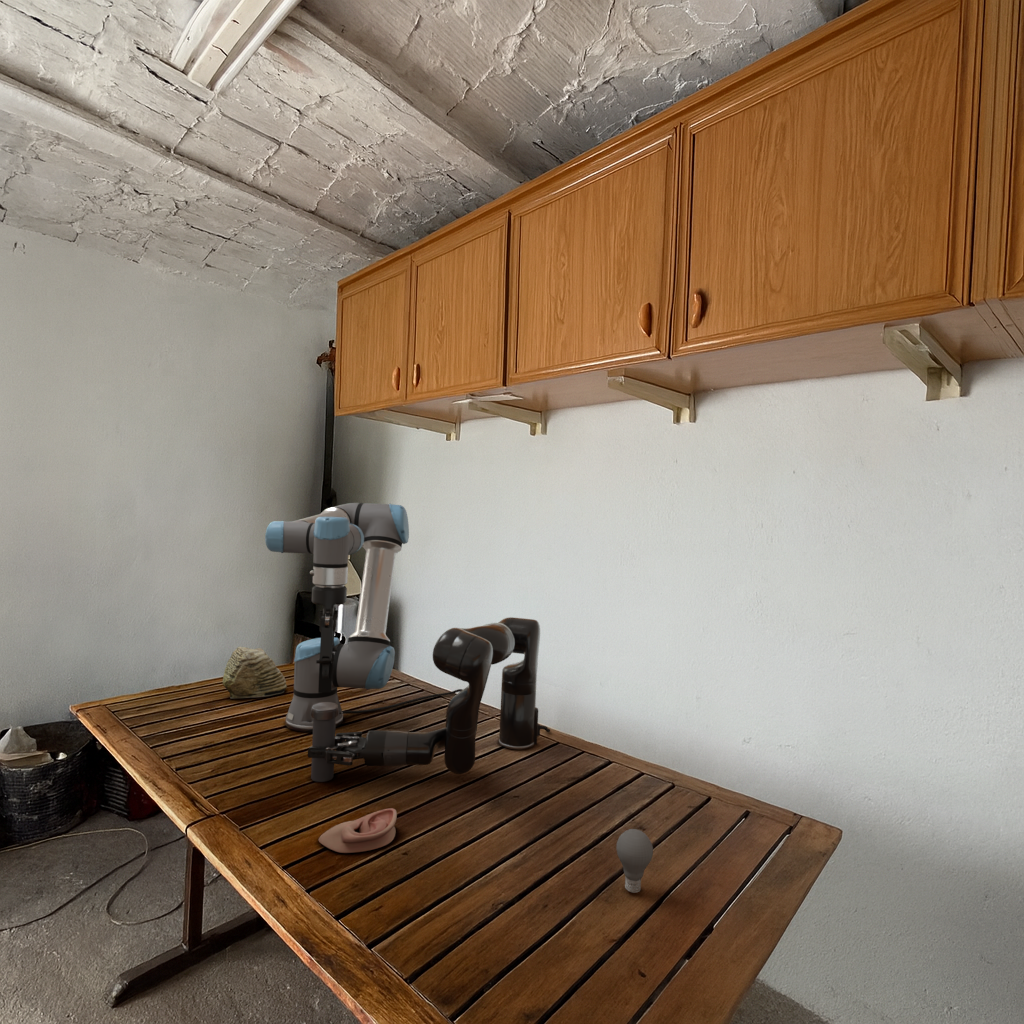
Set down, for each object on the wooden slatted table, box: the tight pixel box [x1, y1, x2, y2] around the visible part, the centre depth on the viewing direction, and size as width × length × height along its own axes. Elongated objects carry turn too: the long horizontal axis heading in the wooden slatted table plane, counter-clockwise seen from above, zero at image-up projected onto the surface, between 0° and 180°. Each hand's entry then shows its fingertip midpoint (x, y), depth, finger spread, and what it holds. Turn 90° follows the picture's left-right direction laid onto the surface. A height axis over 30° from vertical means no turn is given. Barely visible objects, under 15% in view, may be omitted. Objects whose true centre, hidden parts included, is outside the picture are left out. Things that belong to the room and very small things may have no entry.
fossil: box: [222, 646, 288, 699], centre depth 198 cm, size 9×18×15 cm, turn 132°
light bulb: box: [615, 828, 654, 894], centre depth 106 cm, size 6×6×10 cm
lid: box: [311, 702, 338, 720], centre depth 143 cm, size 6×6×2 cm
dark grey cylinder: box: [310, 718, 336, 783], centre depth 143 cm, size 5×5×16 cm
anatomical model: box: [318, 807, 398, 854], centre depth 118 cm, size 13×4×12 cm
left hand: (325, 686), depth 143 cm, fingers open, 8 cm apart
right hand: (311, 747), depth 143 cm, fingers closed on dark grey cylinder, 5 cm apart
